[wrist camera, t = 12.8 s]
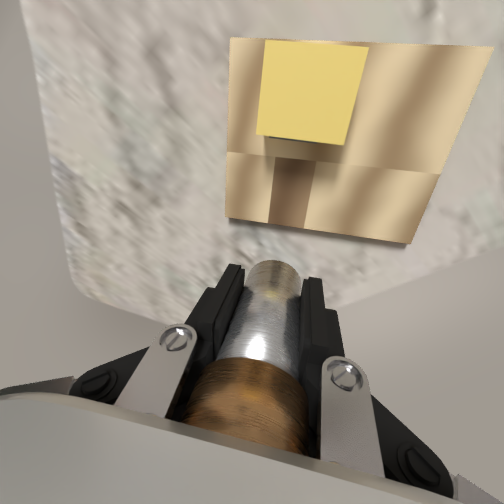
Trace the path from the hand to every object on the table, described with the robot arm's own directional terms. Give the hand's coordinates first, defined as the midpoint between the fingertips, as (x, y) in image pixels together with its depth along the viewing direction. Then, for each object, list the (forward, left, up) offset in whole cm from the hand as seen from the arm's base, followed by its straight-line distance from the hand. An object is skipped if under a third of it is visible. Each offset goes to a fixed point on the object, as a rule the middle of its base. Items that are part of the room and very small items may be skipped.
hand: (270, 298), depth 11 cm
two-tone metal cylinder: (0, 0, -1) cm, 1 cm away
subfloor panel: (-3, -6, -18) cm, 19 cm away
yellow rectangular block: (0, -9, -16) cm, 19 cm away
